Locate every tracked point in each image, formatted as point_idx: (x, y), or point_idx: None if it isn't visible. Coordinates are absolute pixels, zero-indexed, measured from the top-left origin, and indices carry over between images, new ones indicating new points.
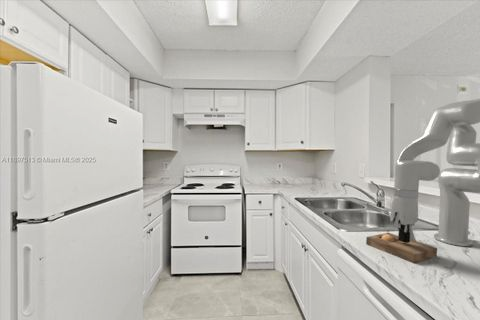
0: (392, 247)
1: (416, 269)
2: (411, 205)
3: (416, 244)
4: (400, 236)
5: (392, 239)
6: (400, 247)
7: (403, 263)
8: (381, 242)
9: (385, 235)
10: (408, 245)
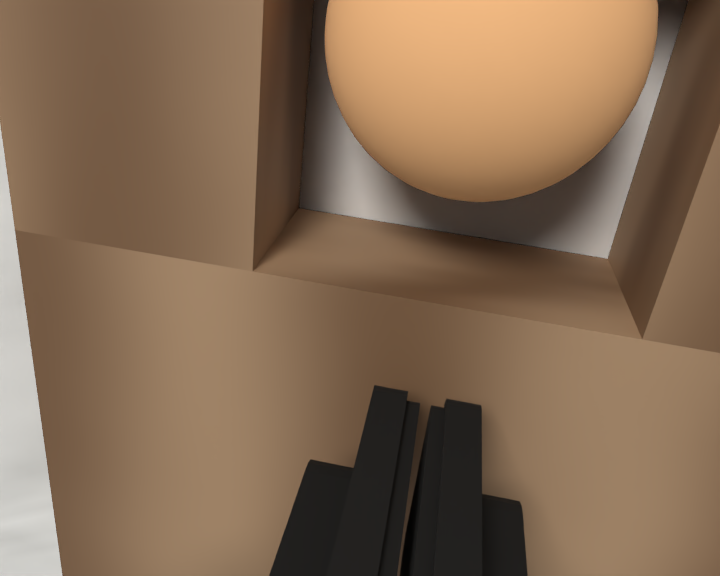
0: (43, 353)
1: (10, 571)
2: None
3: (605, 574)
4: (296, 517)
5: (458, 196)
6: (139, 455)
7: (4, 465)
8: (5, 129)
9: (404, 20)
10: None
